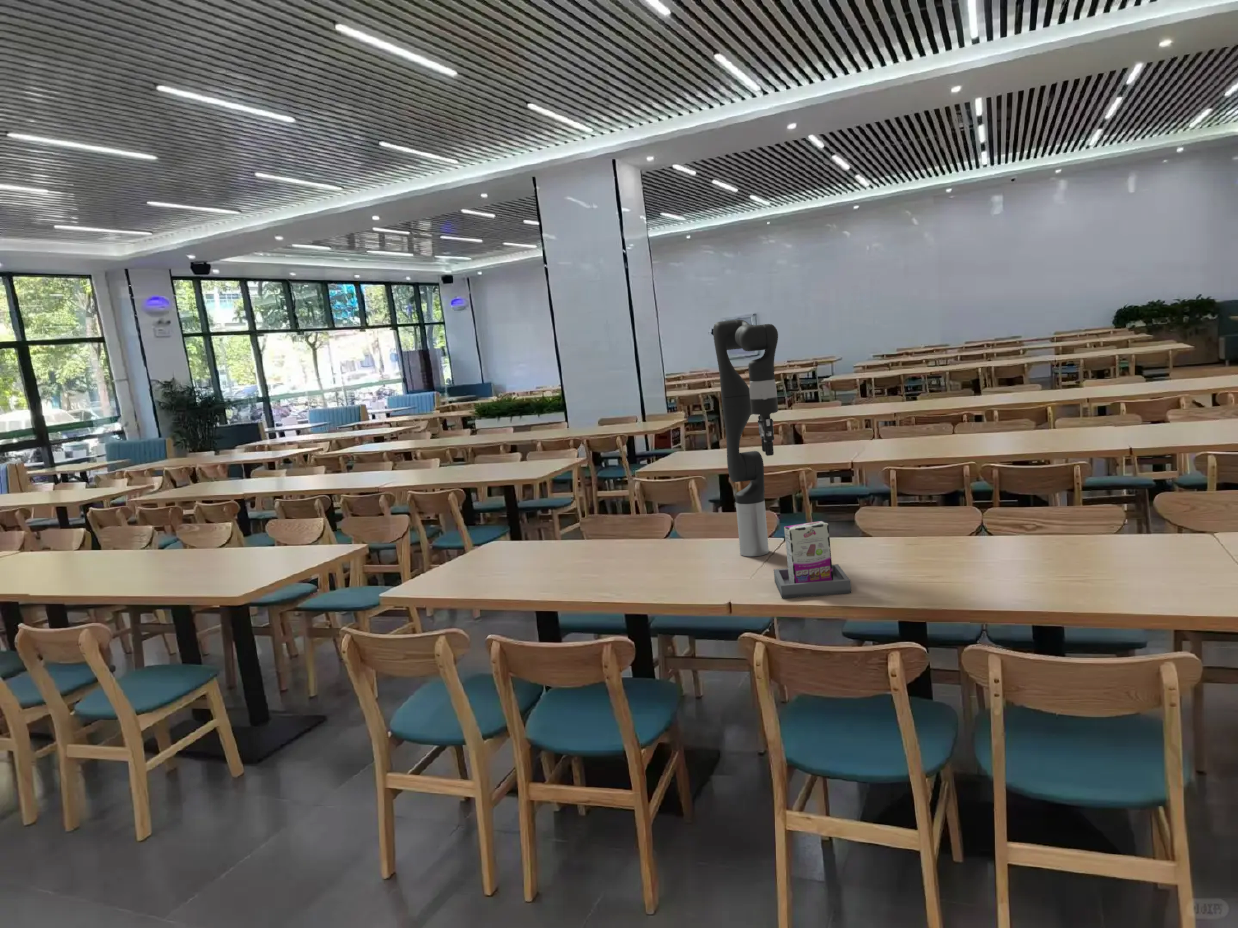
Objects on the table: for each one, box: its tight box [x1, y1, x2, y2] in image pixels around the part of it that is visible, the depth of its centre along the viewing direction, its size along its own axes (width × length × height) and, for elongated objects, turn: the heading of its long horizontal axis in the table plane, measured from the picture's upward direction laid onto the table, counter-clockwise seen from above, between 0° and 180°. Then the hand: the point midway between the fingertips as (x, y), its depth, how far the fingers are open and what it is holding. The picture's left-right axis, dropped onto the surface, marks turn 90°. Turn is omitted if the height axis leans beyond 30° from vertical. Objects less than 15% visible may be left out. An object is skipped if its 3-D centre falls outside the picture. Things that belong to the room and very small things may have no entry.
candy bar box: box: [783, 520, 833, 584], centre depth 217 cm, size 11×5×16 cm, turn 99°
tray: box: [773, 563, 852, 599], centre depth 217 cm, size 16×18×4 cm
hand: (767, 453), depth 226 cm, fingers open, 8 cm apart
